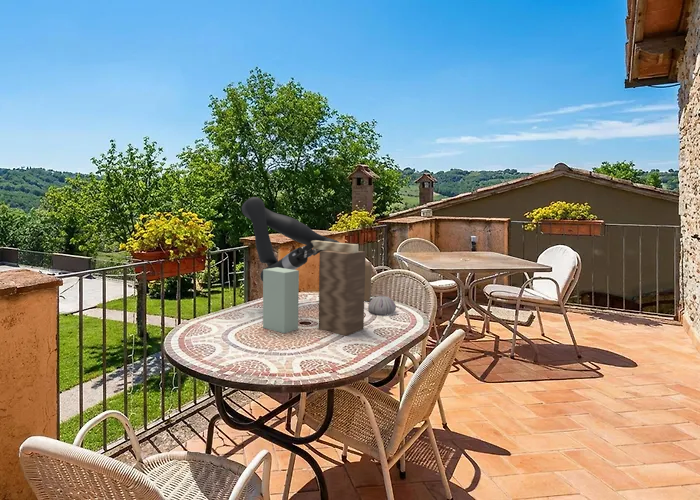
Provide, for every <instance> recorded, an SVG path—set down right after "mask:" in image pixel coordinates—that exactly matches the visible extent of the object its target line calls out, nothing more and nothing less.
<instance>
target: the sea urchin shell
mask: <svg viewBox="0 0 700 500" xmlns="http://www.w3.org/2000/svg"><path fill="white" fill-rule="evenodd" d="M367 309H368V311H369V312H370V313H371V314H374V315H378V316H385V314H386V315H387V314H388V315H391V314H394V313H395V312H396V310H397V305H396V303H395V301H394V300H393V299H392V298H391V297H389V296H385V295H377V296H375V297H373V298H372V299H370V301H369V303H368V306H367ZM388 315H387V316H388Z"/></svg>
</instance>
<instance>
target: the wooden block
mask: <svg viewBox="0 0 700 500" xmlns="http://www.w3.org/2000/svg"><path fill="white" fill-rule="evenodd" d="M372 265H373V264H372V262H371V261H365V294H364V301H369V302H370V301H371V297H372V292H371V291H372V273H373V272H372V269H373V266H372Z"/></svg>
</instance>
